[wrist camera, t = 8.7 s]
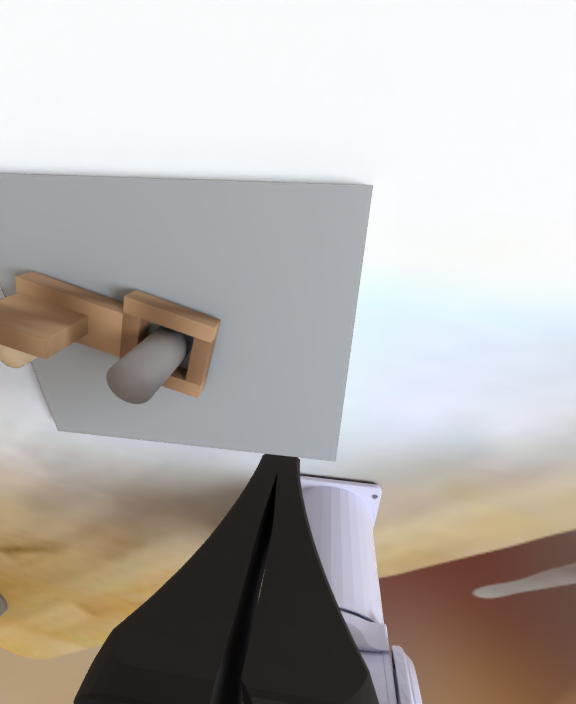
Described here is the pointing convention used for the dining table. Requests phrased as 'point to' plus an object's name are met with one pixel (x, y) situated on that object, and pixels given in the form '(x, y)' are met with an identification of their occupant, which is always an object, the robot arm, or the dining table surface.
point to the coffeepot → (2, 605)
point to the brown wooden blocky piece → (101, 325)
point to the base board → (198, 303)
